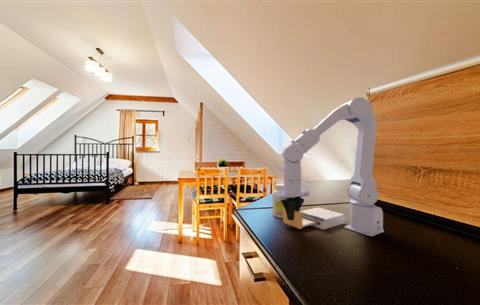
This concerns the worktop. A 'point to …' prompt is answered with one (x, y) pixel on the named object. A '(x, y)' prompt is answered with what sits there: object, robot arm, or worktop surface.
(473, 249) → the worktop surface
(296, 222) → the tan and white l-shape
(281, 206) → the supplement bottle
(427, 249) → the worktop surface
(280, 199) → the robot arm
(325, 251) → the worktop surface
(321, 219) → the dispenser
